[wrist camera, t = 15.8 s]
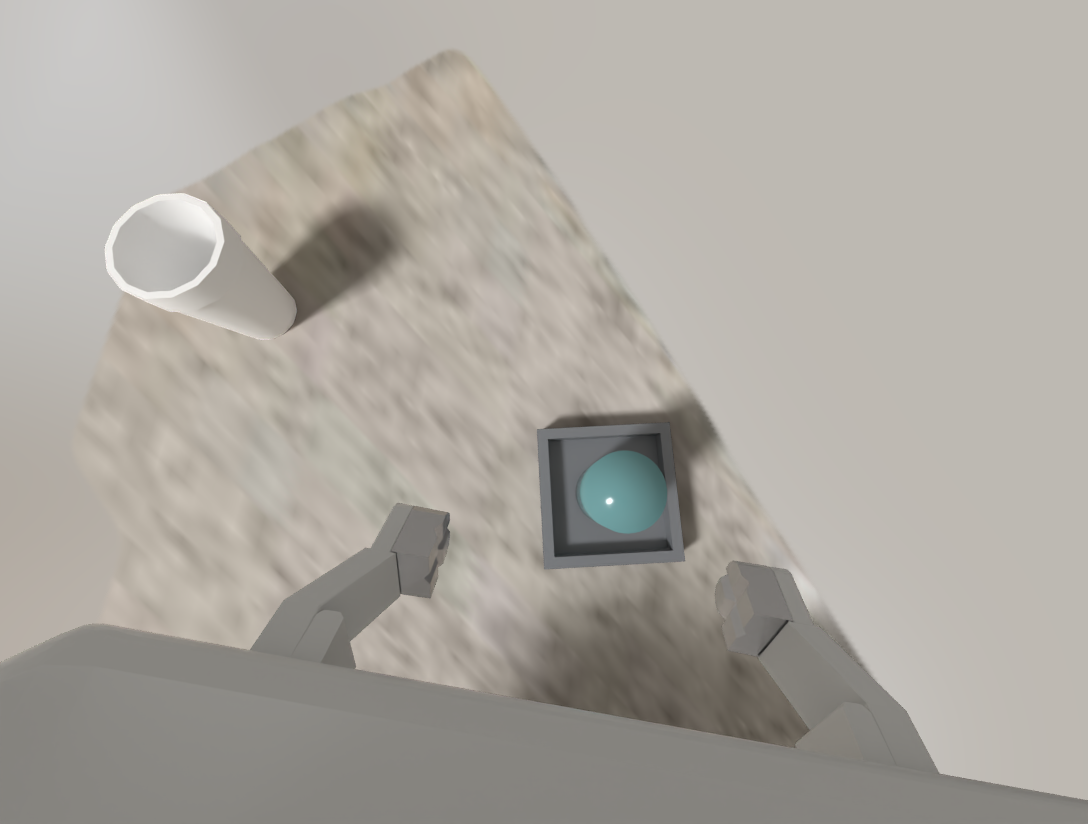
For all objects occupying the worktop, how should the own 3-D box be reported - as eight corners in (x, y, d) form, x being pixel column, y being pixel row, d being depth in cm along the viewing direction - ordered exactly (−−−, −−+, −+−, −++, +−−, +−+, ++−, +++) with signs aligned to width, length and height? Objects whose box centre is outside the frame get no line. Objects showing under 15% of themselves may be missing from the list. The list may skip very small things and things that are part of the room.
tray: (675, 556, 42) (685, 561, 39) (544, 564, 42) (544, 569, 39) (661, 427, 44) (669, 422, 41) (537, 433, 44) (537, 429, 41)
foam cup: (326, 292, 47) (245, 216, 34) (285, 365, 45) (185, 315, 33) (251, 262, 48) (144, 178, 35) (209, 334, 46) (81, 273, 33)
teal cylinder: (638, 522, 41) (671, 531, 30) (577, 525, 41) (588, 535, 30) (633, 461, 42) (663, 448, 32) (573, 463, 42) (582, 452, 32)
